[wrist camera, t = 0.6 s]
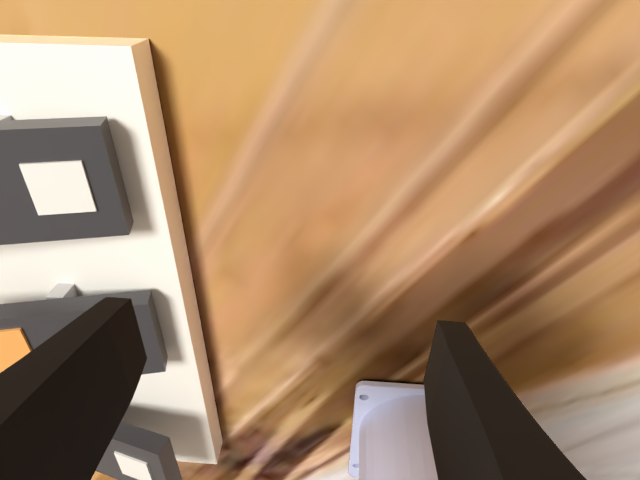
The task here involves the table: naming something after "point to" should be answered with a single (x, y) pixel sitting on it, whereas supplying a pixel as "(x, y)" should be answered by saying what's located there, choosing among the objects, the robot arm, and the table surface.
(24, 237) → the rocker near
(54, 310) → the rocker middle
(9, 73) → the switch strip
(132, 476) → the rocker far
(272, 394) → the table surface
